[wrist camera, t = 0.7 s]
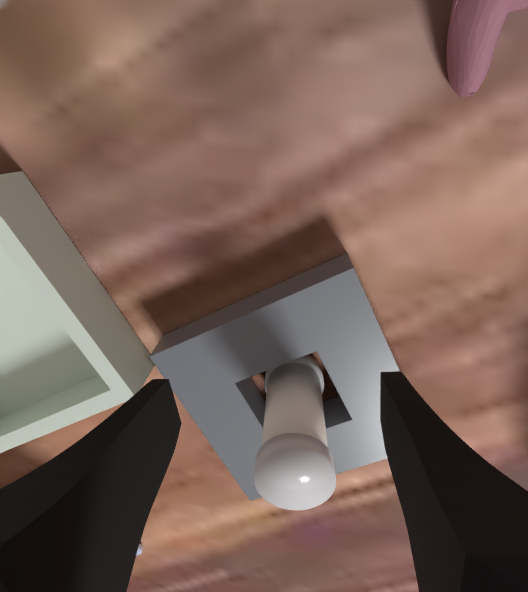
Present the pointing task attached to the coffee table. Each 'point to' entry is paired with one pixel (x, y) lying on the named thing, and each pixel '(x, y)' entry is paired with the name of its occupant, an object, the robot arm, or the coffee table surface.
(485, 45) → the video game controller
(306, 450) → the cylinder
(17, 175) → the parts tray
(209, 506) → the coffee table surface
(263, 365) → the grey square frame
